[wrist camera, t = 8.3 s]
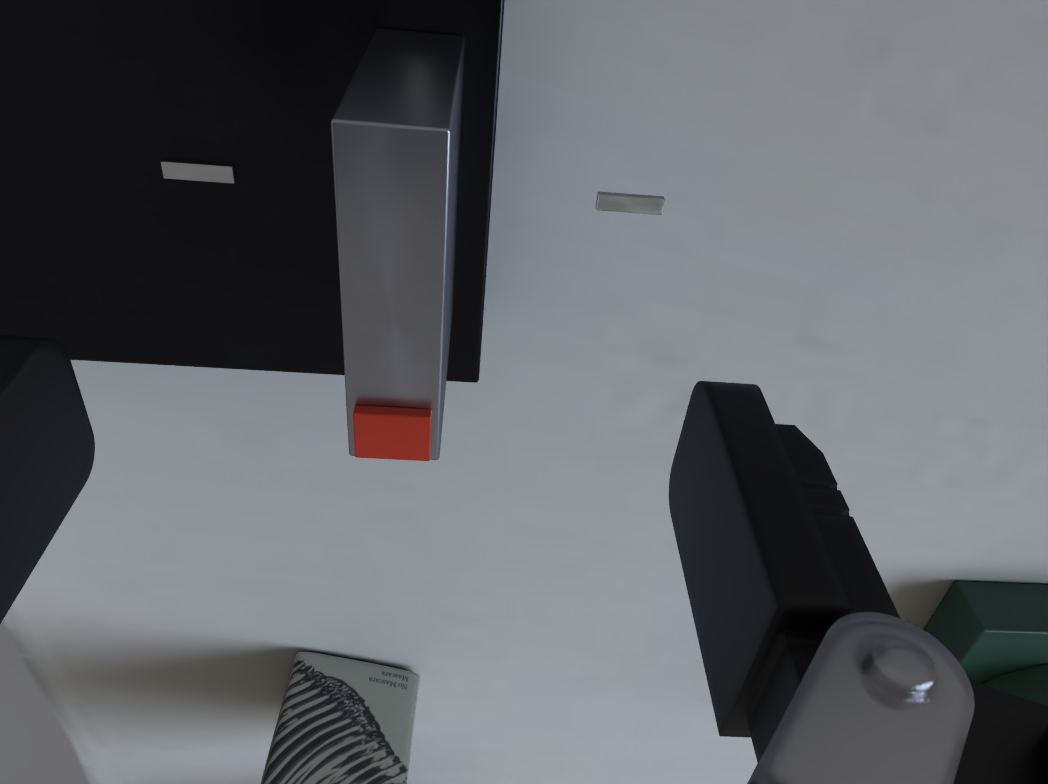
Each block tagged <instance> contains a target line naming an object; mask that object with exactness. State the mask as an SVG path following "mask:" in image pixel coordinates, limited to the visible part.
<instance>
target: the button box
mask: <svg viewBox="0 0 1048 784" xmlns="http://www.w3.org/2000/svg"><path fill="white" fill-rule="evenodd" d="M924 631H926V632H928V633H929V634H930V635H932V636H933V637H934V638H936V639H937V640H938V641H940V642H941V643H942V644H943V645H944V646H945V647H946V648H947V649H948V650H949V651H950V652H951V653H952V654H953V656H954V657H955V658H956V659H957V660H958V662H959V663H960V665H961V666H962V668H963V669H964V671H965V672H966V675H967V677H968V679H970V680H972V681H974V682H977V683H979V684H982V685H985V686H987V687H990V688H993V689H996V690H999V691H1003V692H1006V693H1009V694H1012V695H1015V696H1018V697H1021V698H1024V699H1027V700H1030V701H1033V702H1037V703H1040V704H1043V705H1046V706H1048V585H1041V584H1016V583H991V582H966V581H956V582H954V584H953V586H952V587H951V589H950V590H949V592H948V593H947V595H946V596H945V598H944V600H943V601H942V603H941V604H940V606H939V607H938V609H937V611H936V612H935V614H934V615H933V617H932V618H931V620H930V621H929V623H928V625H927V626H926V628H925V629H924Z"/></svg>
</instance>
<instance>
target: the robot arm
mask: <svg viewBox="0 0 1048 784" xmlns="http://www.w3.org/2000/svg"><path fill="white" fill-rule="evenodd" d="M94 452H95V442H94V435H93V431H92V427H91V424H90V421H89V418H88V415H87V411H86V408H85V405H84V402H83V399H82V396H81V392H80V389H79V386H78V383H77V380H76V377H75V373H74V370H73V367H72V364H71V361H70V358H69V355H68V352H67V350H66V348H65V346H64V345H63V344H62V343H61V342H60V341H59V340H57V339H54V338H41V337H25V336H9V335H0V624H1V622H2V620H3V619H4V617H5V615H6V614H7V612H8V610H9V609H10V607H11V605H12V604H13V602H14V600H15V599H16V597H17V596H18V594H19V592H20V591H21V589H22V587H23V586H24V584H25V582H26V581H27V579H28V577H29V576H30V574H31V572H32V571H33V569H34V567H35V566H36V564H37V563H38V561H39V559H40V558H41V556H42V554H43V553H44V551H45V549H46V548H47V546H48V544H49V543H50V541H51V539H52V538H53V536H54V534H55V533H56V531H57V530H58V528H59V526H60V525H61V523H62V521H63V520H64V518H65V516H66V515H67V513H68V511H69V510H70V508H71V506H72V505H73V503H74V501H75V500H76V498H77V497H78V495H79V493H80V492H81V490H82V488H83V487H84V485H85V483H86V481H87V480H88V478H89V475H90V473H91V469H92V466H93V461H94ZM669 506H670V513H671V518H672V522H673V527H674V531H675V536H676V541H677V545H678V550H679V554H680V559H681V563H682V568H683V572H684V577H685V581H686V586H687V590H688V595H689V599H690V604H691V609H692V613H693V618H694V622H695V627H696V631H697V636H698V640H699V645H700V649H701V654H702V658H703V663H704V667H705V672H706V676H707V681H708V686H709V690H710V695H711V699H712V704H713V708H714V713H715V717H716V722H717V726H718V731H719V735H720V736H729V737H751V738H752V742H753V746H754V750H755V754H756V758H757V762H758V764H757V766H756V768H755V770H754V772H753V774H752V776H751V778H750V779H749V781H748V783H747V784H1048V706H1046V705H1043V704H1040V703H1037V702H1033V701H1030V700H1027V699H1024V698H1021V697H1018V696H1015V695H1012V694H1009V693H1006V692H1003V691H999V690H996V689H993V688H990V687H987V686H985V685H982V684H979V683H977V682H974V681H972V680H970V679H968V677H967V675H966V672H965V671H964V669H963V668H962V666H961V665H960V663H959V662H958V660H957V659H956V658H955V657H954V656H953V654H952V653H951V652H950V651H949V650H948V649H947V648H946V647H945V646H944V645H943V644H942V643H941V642H940V641H938V640H937V639H936V638H934V637H933V636H932V635H930V634H929V633H928V632H926V631H924V630H923V629H921V628H919V627H918V626H916V625H914V624H912V623H910V622H908V621H906V620H903V619H901V618H900V616H899V615H898V613H897V610H896V608H895V606H894V604H893V602H892V600H891V598H890V595H889V593H888V591H887V589H886V587H885V585H884V583H883V581H882V578H881V576H880V574H879V572H878V570H877V568H876V566H875V563H874V561H873V559H872V557H871V555H870V553H869V551H868V548H867V546H866V544H865V542H864V540H863V538H862V536H861V534H860V531H859V529H858V527H857V525H856V523H855V521H854V519H853V517H850V516H849V508H848V506H847V504H846V502H845V499H844V497H843V495H842V493H841V491H840V490H837V482H836V480H835V478H834V476H833V474H832V472H831V469H830V467H829V465H828V463H827V461H826V459H825V457H824V455H823V453H822V452H821V451H820V450H819V449H818V448H817V447H816V446H815V445H814V444H813V443H812V442H811V441H810V440H809V439H808V438H807V437H806V436H805V435H804V434H803V433H802V432H801V431H800V430H799V429H798V428H797V427H796V426H795V425H782V424H775V423H774V420H773V418H772V415H771V413H770V411H769V408H768V406H767V403H766V401H765V399H764V396H763V394H762V392H761V390H760V388H759V387H758V386H757V385H755V384H740V383H725V382H709V381H699V382H698V383H697V384H696V385H695V387H694V389H693V391H692V394H691V398H690V401H689V405H688V409H687V412H686V416H685V420H684V423H683V427H682V431H681V434H680V438H679V442H678V445H677V449H676V453H675V456H674V460H673V464H672V468H671V473H670V481H669Z"/></svg>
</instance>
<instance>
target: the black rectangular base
mask: <svg viewBox="0 0 1048 784" xmlns="http://www.w3.org/2000/svg"><path fill="white" fill-rule="evenodd" d="M503 15H504V0H0V335H9V336H25V337H41V338H54V339H57V340H59V341H60V342H61V343H62V344H63V345H64V346H65V348H66V350H67V352H68V355H69V358H70V360H87V361H105V362H123V363H140V364H158V365H176V366H193V367H211V368H229V369H247V370H264V371H282V372H300V373H317V374H335V375H345V371H344V353H343V335H342V317H341V299H340V281H339V263H338V245H337V227H336V209H335V191H334V173H333V155H332V138H331V119H332V117H333V115H334V113H335V111H336V109H337V107H338V105H339V103H340V101H341V99H342V97H343V95H344V93H345V92H346V90H347V88H348V86H349V84H350V82H351V80H352V78H353V76H354V74H355V72H356V70H357V68H358V66H359V64H360V62H361V60H362V58H363V56H364V54H365V52H366V50H367V48H368V46H369V44H370V42H371V40H372V38H373V36H374V34H375V32H376V30H377V29H379V28H380V29H391V30H402V31H413V32H424V33H435V34H446V35H457V36H462V37H464V56H463V79H462V102H461V125H460V148H459V171H458V194H457V217H456V240H455V263H454V287H453V310H452V323H451V334H450V345H449V356H448V367H447V378H446V381H459V382H478V380H479V371H480V356H481V341H482V326H483V311H484V296H485V282H486V267H487V252H488V237H489V222H490V207H491V193H492V178H493V163H494V148H495V133H496V118H497V104H498V89H499V74H500V59H501V44H502V29H503ZM664 201H665V199H664V197H663V196H652V195H638V194H625V193H611V192H598V194H597V200H596V210H602V211H615V212H629V213H643V214H656V215H662V211H663V206H664Z"/></svg>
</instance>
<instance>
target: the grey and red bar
mask: <svg viewBox="0 0 1048 784" xmlns="http://www.w3.org/2000/svg"><path fill="white" fill-rule="evenodd" d="M463 56H464V37H462V36H457V35H446V34H435V33H424V32H413V31H402V30H391V29H380V28H379V29H377V30H376V32H375V34H374V36H373V38H372V40H371V42H370V44H369V46H368V48H367V50H366V52H365V54H364V56H363V58H362V60H361V62H360V64H359V66H358V68H357V70H356V72H355V74H354V76H353V78H352V80H351V82H350V84H349V86H348V88H347V90H346V92H345V93H344V95H343V97H342V99H341V101H340V103H339V105H338V107H337V109H336V111H335V113H334V115H333V117H332V119H331V138H332V155H333V173H334V191H335V209H336V227H337V245H338V263H339V281H340V299H341V317H342V335H343V353H344V371H345V389H346V407H347V425H348V443H349V454H350V455H351V456H355V457H360V458H379V459H399V460H418V461H429V460H438V459H439V456H440V444H441V433H442V422H443V411H444V400H445V389H446V378H447V367H448V356H449V345H450V334H451V323H452V310H453V287H454V263H455V240H456V217H457V194H458V171H459V148H460V125H461V102H462V79H463Z"/></svg>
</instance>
